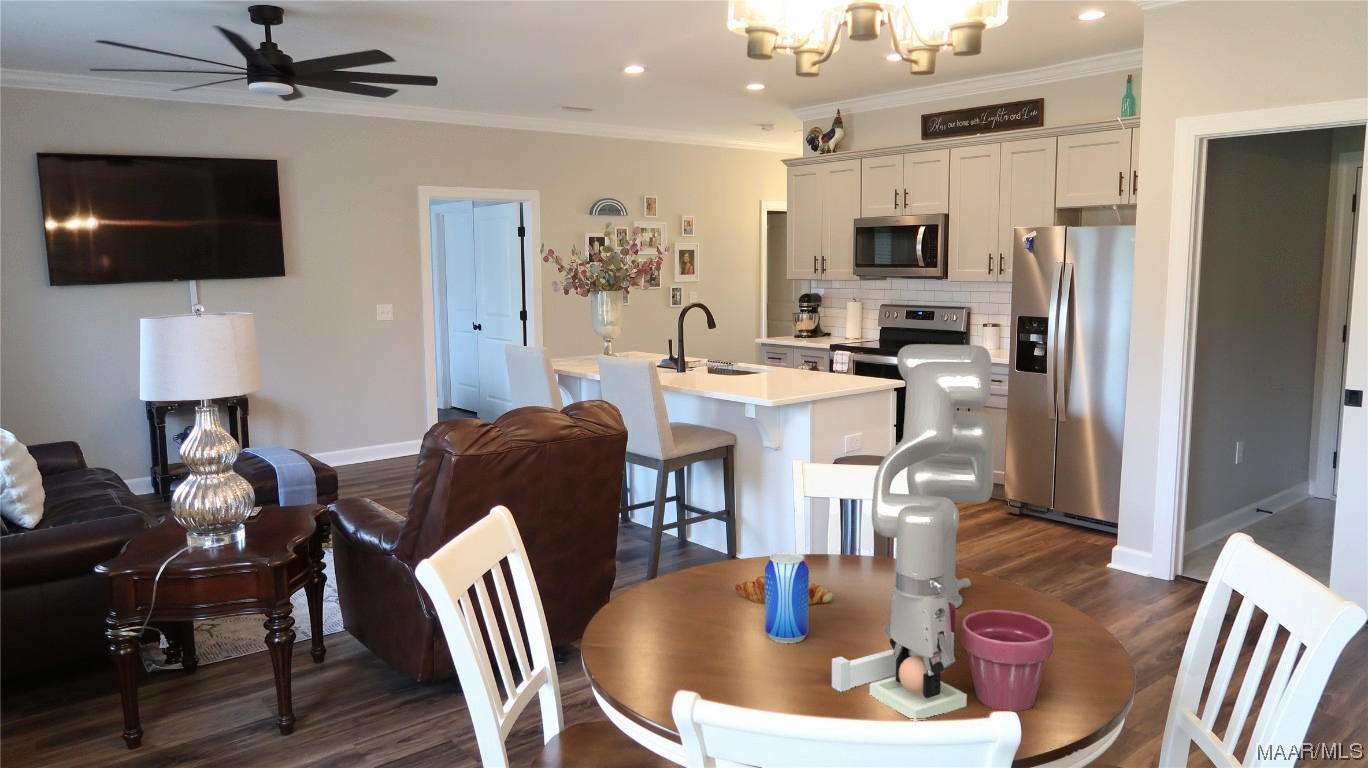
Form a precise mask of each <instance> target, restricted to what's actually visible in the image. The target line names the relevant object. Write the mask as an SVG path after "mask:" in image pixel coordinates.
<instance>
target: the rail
mask: <svg viewBox="0 0 1368 768" xmlns="http://www.w3.org/2000/svg"><path fill="white" fill-rule="evenodd" d="M954 642H955V641H954V633H952V632H951V652H952V654H953V655H954V652H955V651H954V649H955V647H954V646H955V643H954ZM893 651H894V650H893V648H892V649H888V650H885V651H881V652H877V653H874V654H869V655H867V656H862V657H859V658H855V659H851V660H849V659H847V658H845V657H843V656H837V657H834V658H831V688H833V689H835V690H836V691H838V692H839V691H840V692H839V693H843V692H847V691H850V689H851V688H855V686H856V687H859V686H863V685H866V684H870V683H874V682H877V681H881V680H884V679H888V678H891V677H895V676H896V659H897V658H895V657H894V655H893ZM909 655H911V656H922V655H920V654H918V653H916V652H914V651H912V650H911V652H910V654H909ZM922 657H923V656H922ZM941 657H942V656H941ZM931 661H932V664H933V665H934V664H935V660H934V658H931ZM869 682H870V683H869ZM865 683H866V684H865ZM846 690H847V691H846ZM842 691H843V692H842Z"/></svg>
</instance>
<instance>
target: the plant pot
mask: <svg viewBox="0 0 1368 768" xmlns="http://www.w3.org/2000/svg"><path fill="white" fill-rule="evenodd" d="M961 643H962V646H963V648H964V649H965V650H966V651H967V655H968V661H969V667H970V671H971V675H972V680H973V685H974V690H975V695H976V698H977V700H978V701H979V702H981V703H982V704H983V705H985V706H987V707H989V708H992V709H995V710H999V711H1005V712H1020V711H1026V710H1028V709H1030V708H1032V706H1034V704H1035V701H1036V697H1037V694H1038V691H1039V687H1040V684H1041V682H1042V681H1041V680H1042V678H1043V674H1044V669H1045V666H1046V662H1047V660H1049V659H1050V658H1051V657H1052V656H1053V651H1054V630H1053V628H1052V626H1051V625H1050V624H1049V623H1048V622H1046V621H1044V620H1042V619H1041V618H1039V617H1037V616H1033V615H1031V614H1028V613H1023V612H1018V611H1014V610H1005V609H988V610H987V609H986V610H980V611H975V612H971V613H969V614H968V615H966V616H965V617H964V618H963V619H962V622H961Z"/></svg>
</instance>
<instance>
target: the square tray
mask: <svg viewBox="0 0 1368 768" xmlns="http://www.w3.org/2000/svg"><path fill="white" fill-rule="evenodd" d="M870 695H872V696H873V697H875V698H876V699H875V698H874V699H875V700H877V699H878V700H879V702H880V701H881V702H880V703H882V704H883V703H884V705H885V704H886V705H885V706H887V705H888V706H890V707H892V708H893V709H895V710H897V711H898V712H900V713H902V714H904V715H905V716H907V717H909V718H914V719H909V720H910V721H912V720H913V721H918V720H923V721H926V720H927V719H916V718H926V717H930V716H933V715H938V714H941V715H943V714H942V713H944V714H948V713H950V712H953V711H956V710H959V709H962V708H965V707H967V703H968V702H967V701H968V700H967V697H968V694H967V693H964V692H963V691H961V690H959V689H956V688H955V687H953V686H952V685H950V684H948V683H946V682H943V681H941V686H940V694H939V695H936V696H933V697H930V698H925V697H924V696H923V693H922V694H916V693H912V692H910V691H908V690H907V689H906V688H905V687H904V686H903V685H902V683H901V682H900V683H899V682H897V681H896V675H894V676H890V677H887V678H884V679H880V680H877V681H873V682H870V683H869V696H870ZM872 696H871V697H872ZM873 697H872V698H873ZM878 700H877V701H878ZM888 706H887V707H888ZM890 707H889V708H890ZM892 708H891V709H892ZM893 709H892V710H893ZM895 710H894V711H895ZM897 711H896V712H897ZM898 712H897V713H898ZM900 713H899V714H900ZM902 714H901V715H902ZM905 716H904V717H905ZM938 716H939V715H938ZM907 717H906V718H907ZM913 721H912V722H913Z"/></svg>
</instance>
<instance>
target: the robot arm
mask: <svg viewBox="0 0 1368 768" xmlns="http://www.w3.org/2000/svg"><path fill="white" fill-rule="evenodd" d="M896 358H897V359H896V361H897V369H898V371H899V374H900V376H901V377H902V378H903V380H904V381H905V382H906V390H905V403H904V406H905V408H904V421H903V422H904V423H903V435H902V438H901V440H900V441H899V443H897V444H896V445H895V446H894V447H893V448H892V449H891V450H890V451H889V452H888V453H886V455H885V456H884V458H883V460H882V461H881V463H880V464H879V466H878V468H877V471H876V474H875V476H874V483H873V492H872V501H871V502H872V503H871V523H872V527H873V529H874V531H875V532H876V533H877V534H878V535H880V536H882V537H885V538H892V539H893V538H895V539H896V547H895V548H896V550H895V552H896V553H895V555H896V556H895V557H896V559H895V570H896V571H895V585H894V587H893V592H892V599H891V603H890V605H891V606H890V613H889V614H890V615H889V616H890V617H889V623H888V624H887V625H886V626H885V628H884V633H885V635H886V636H887V638H888V640H889V643H890V646H891V648H892V649H893V650H894V651H893V655H894V657H895V658H897V659H896V675H895V676H896V681H897V682H899V683H900V682H901V681H900V678H899V668H900V666H901V664H902V662H903V661H904V660H905V659H907V658H908V657H911V655H909V654H910V652H911V650H912V651H914V652H916V653H918V654H920V655H922V656H923V659H924V663H925V668H926V672H927V673H925V674H924V676H923V696H924V697H925V698H930V697H933V696H936V695H939V694H940V686H941V679H942V678H941V677H942V673H944V672H945V670H946V669H948V668H949V666H951V665H952V664H954V663H955V662H956V657H955V656H954V655H953V654H952V652H951V620H950V611H949V604H948V602H950V603H952V604H954V605H955V609H957V608H959V607H961V605H962V604H963V597H962V595H961V594H959V591H961V589H965V588H968V587H971V585H972V582H971V579H969V578H968V577H964V578H959V579H958V578H957V577H956V559H957V557H956V555H957V553H956V551H957V531H958V528H959V524H960V513H959V508H958V507H957V506H956V504H957V503H958V504H976V505H977V504H978V505H979V504H985V503H987V502H988V501H989V500H990V499H991V497H992V494H993V489H994V475H995V474H994V471H995V470H994V468H995V428H994V423H993V421H992V419H991V417H990V416H989V415H987V414H986V413H983V412H979V411H968V410H966V411H964V410H957V409H976V410H978V409H983V407H985V406H986V405H987V404H988V402H989V399H990V396H991V388H992V358H991V355H990V352H989V350H988V349H987V348H986V347H984V346H981V345H976V344H975V345H974V344H973V345H972V344H937V343H936V344H935V343H934V344H933V343H931V344H930V343H925V344H923V343H922V344H921V343H919V344H918V343H917V344H915V343H914V344H913V343H912V344H908V345H904V346H903V347H901V348H900V349H899V351H898V353H897V357H896ZM905 469H906V482H907V487H908V494H907V493H891V492H890V491H891V485H892V482H893V480H894V479H895V477H896V476H897V475H898V474H900V473H901V472H902V471H904V470H905ZM955 503H956V504H955ZM941 656H942V657H941ZM931 658H934V660H935V664H933V665H932V661H931Z"/></svg>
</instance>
